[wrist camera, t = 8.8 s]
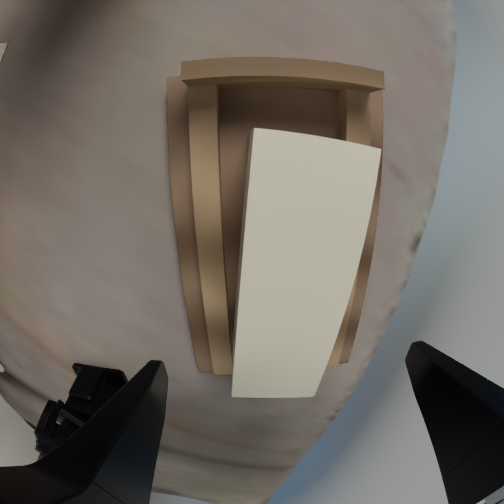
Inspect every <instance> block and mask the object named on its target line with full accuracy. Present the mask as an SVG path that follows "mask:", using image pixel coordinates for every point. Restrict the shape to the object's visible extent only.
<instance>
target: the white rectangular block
mask: <svg viewBox="0 0 504 504" xmlns="http://www.w3.org/2000/svg"><path fill="white" fill-rule="evenodd" d="M380 156H381V149H379V148H375V147H371V146H366V145H362V144H357V143H353V142H348V141H343V140H338V139H332V138H327V137H321V136H315V135H309V134H302V133H295V132H288V131H280V130H271V129H262V128H253V129H252V130H251V132H250V135H249V146H248V157H247V168H246V179H245V190H244V202H243V214H242V226H241V238H240V250H239V263H238V276H237V289H236V303H235V317H234V331H233V360H232V397H245V398H297V397H314V396H315V393H316V391H317V389H318V386H319V384H320V381H321V379H322V376H323V374H324V371H325V368H326V366H327V363H328V360H329V358H330V355H331V352H332V350H333V347H334V344H335V341H336V338H337V335H338V332H339V329H340V326H341V323H342V320H343V317H344V314H345V311H346V308H347V304H348V301H349V298H350V294H351V291H352V288H353V284H354V280H355V277H356V273H357V269H358V266H359V262H360V258H361V254H362V250H363V246H364V241H365V237H366V233H367V228H368V224H369V219H370V214H371V209H372V204H373V199H374V193H375V188H376V182H377V176H378V170H379V163H380Z"/></svg>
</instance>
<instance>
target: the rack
mask: <svg viewBox="0 0 504 504" xmlns="http://www.w3.org/2000/svg"><path fill="white" fill-rule="evenodd" d="M382 89H385V88H384V72H383V71H379V70H374V69H369V68H364V67H359V66H354V65H348V64H341V63H335V62H327V61H319V60H309V59H297V58H279V57H232V58H214V59H202V60H192V61H184V62H181V76H178V77H171V78H167V121H168V146H169V163H170V177H171V190H172V201H173V211H174V221H175V230H176V239H177V247H178V255H179V262H180V269H181V276H182V283H183V289H184V296H185V302H186V308H187V313H188V319H189V325H190V330H191V335H192V340H193V346H194V351H195V355H196V360H197V365H198V370H199V372H214V375H232V360H233V331H234V317H235V303H236V289H237V276H238V263H239V250H240V238H241V226H242V214H243V202H244V190H245V179H246V168H247V157H248V146H249V135H250V132H251V130H252V129H253V128H262V129H271V130H280V131H288V132H295V133H302V134H309V135H315V136H321V137H327V138H332V139H338V140H343V141H348V142H353V143H357V144H362V145H366V146H371V147H375V148H379V149H381V156H380V163H379V170H378V176H377V182H376V188H375V193H374V199H373V204H372V209H371V214H370V219H369V224H368V228H367V233H366V237H365V241H364V246H363V250H362V254H361V258H360V262H359V266H358V269H357V273H356V277H355V280H354V284H353V288H352V291H351V294H350V298H349V301H348V304H347V308H346V311H345V314H344V317H343V320H342V323H341V326H340V329H339V332H338V335H337V338H336V341H335V344H334V347H333V350H332V352H331V355H330V358H329V360H328V363H327V366H326V368H333V367H338V364H343V363H348V361H349V357H350V354H351V350H352V346H353V343H354V339H355V335H356V331H357V327H358V323H359V319H360V315H361V310H362V306H363V301H364V296H365V292H366V287H367V281H368V276H369V271H370V265H371V259H372V253H373V246H374V240H375V232H376V225H377V216H378V207H379V197H380V186H381V172H382V152H383V91H382Z"/></svg>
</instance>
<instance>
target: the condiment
mask: <svg viewBox="0 0 504 504" xmlns="http://www.w3.org/2000/svg"><path fill="white" fill-rule="evenodd" d="M7 43H8V42H6V43H0V62H1V59H2V56H3V54H4V52H5V49H6V47H7Z"/></svg>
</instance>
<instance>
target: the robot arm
mask: <svg viewBox="0 0 504 504" xmlns="http://www.w3.org/2000/svg"><path fill="white" fill-rule="evenodd" d="M405 362H406V367H407V370H408V373H409V377H410V380H411V384H412V387H413V391H414V394H415V397H416V400H417V402H418V405H419V408H420V410H421V413H422V416H423V418H424V421H425V424H426V427H427V430H428V433H429V435H430V439H431V442H432V445H433V447H434V451H435V454H436V457H437V461H438V464H439V468H440V471H441V475H442V479H443V482H444V486H445V490H446V495H447V498H448V503H449V504H476V503H478V502H480V501H481V500H483V499H485V503H484V504H504V388H502V387H500V386H498V385H497V384H495V383H493V382H491V381H490V380H487V379H486V378H485V377H483V376H481V375H480V374H478V373H476V372H475V371H473V370H471V369H470V368H468V367H466V366H464V365H463V364H461V363H459V362H458V361H456V360H454V359H453V358H451V357H449V356H447V355H445V354H444V353H442V352H440V351H439V350H437V349H435V348H434V347H432V346H430V345H429V344H427V343H425V342H423V341H417V342H413V343H412V344H411V346H410V349H409V351H408V353H407V356H406V359H405ZM72 368H73V370H74V372H75V373H76V375H77V377H76V379H75V381H74V383H73V385H72V387H71V389H70V391H69V397H68V399H67V401H66V403H65V404H64V402H62V401H61V400H60V399H59V400H58V401H57V402H55V401H52V400H49V401H48V402H47V404H46V406H45V408H44V410H43V412H42V414H41V416H40V419H39V421H38V424H37V426H36V429H35V431H34V433H35V436H36V439H37V440H36V443H37V444H36V448H35V450H37V451H38V452H39V453H40V455H39V458H38V460H37V461H36V462H35V463H32V464H29V465H25V466H10V467H0V504H149V501H150V494H151V488H152V483H153V477H154V471H155V466H156V460H157V455H158V450H159V445H160V440H161V435H162V430H163V425H164V420H165V411H166V399H167V389H168V376H167V372H166V369H165V366H164V363H163V362H162V361H161V360H151V361H149V362H148V363H147V364H146V365H145V366H144V367H143V368H142V369H141V370H140V371H139V372H138V373H137V374H136V375H135V376H134V377H133V378H132V379H131V380H129V381H128V382H127V380H126V377H125V375H124V373H123V372H122V371H120V370H115V369H108V368H101V367H95V366H89V365H83V364H78V363H74V364H73V366H72ZM56 421H57V422H59V423H60V425H59V424H57V423H56Z"/></svg>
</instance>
